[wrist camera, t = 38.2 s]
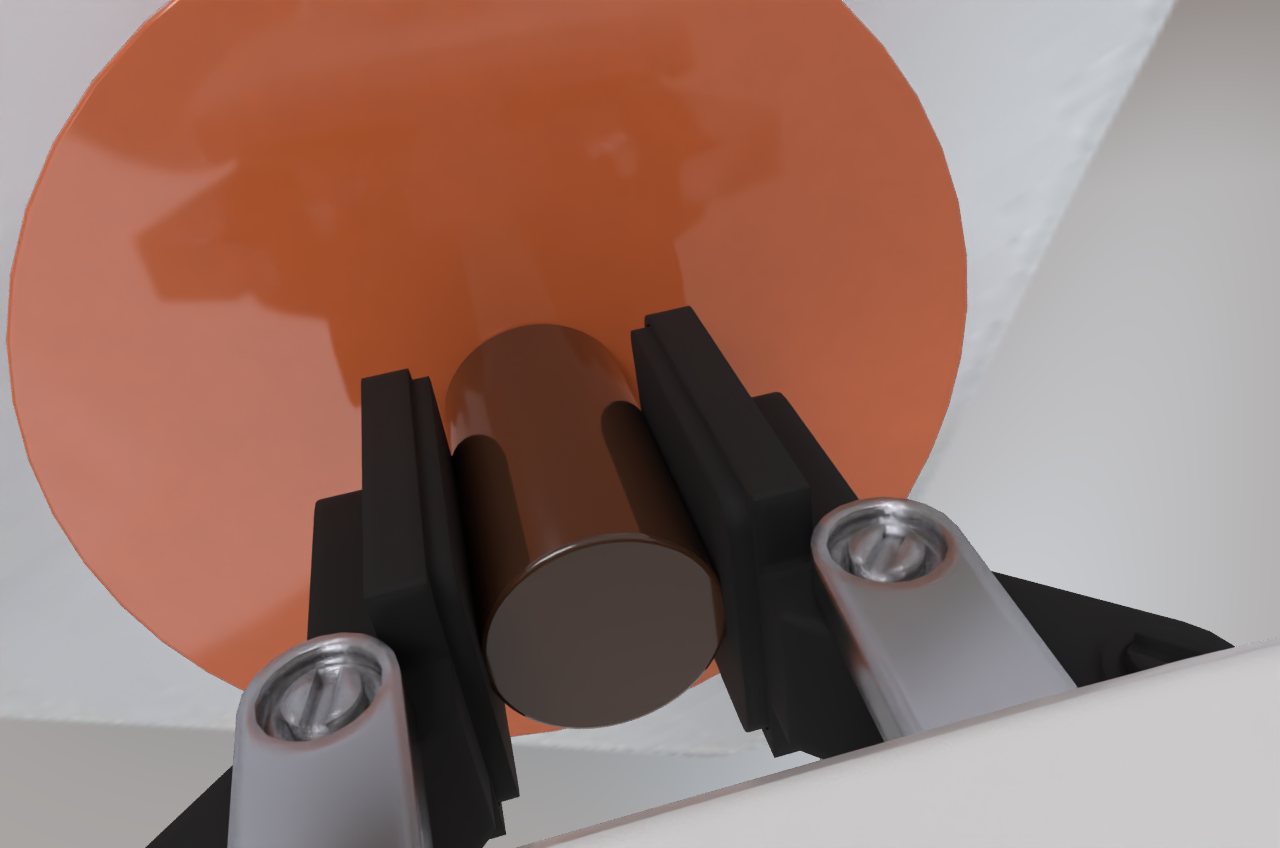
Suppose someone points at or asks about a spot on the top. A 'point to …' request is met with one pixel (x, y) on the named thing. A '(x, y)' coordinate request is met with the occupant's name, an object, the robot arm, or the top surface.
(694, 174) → the lid
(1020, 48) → the top surface
